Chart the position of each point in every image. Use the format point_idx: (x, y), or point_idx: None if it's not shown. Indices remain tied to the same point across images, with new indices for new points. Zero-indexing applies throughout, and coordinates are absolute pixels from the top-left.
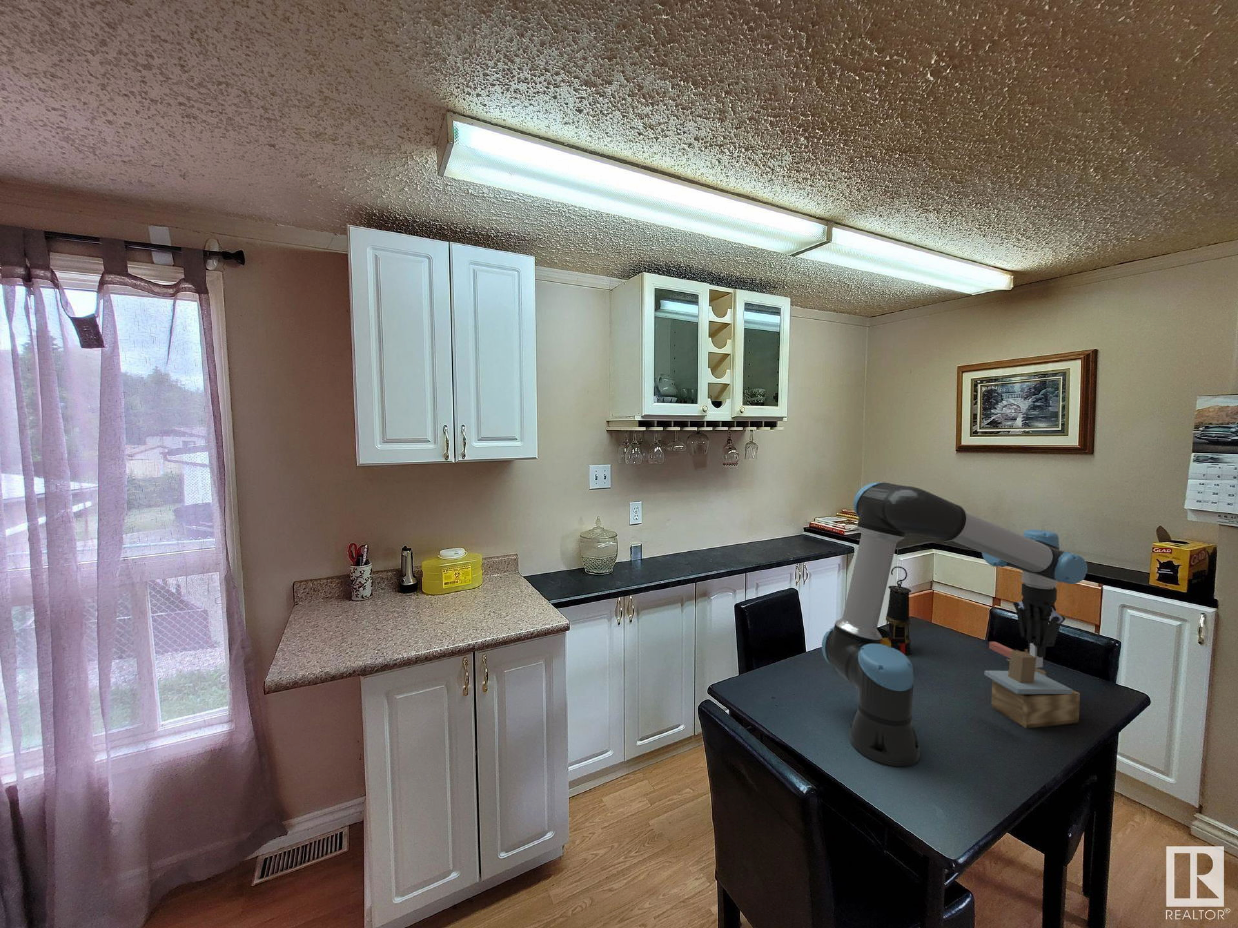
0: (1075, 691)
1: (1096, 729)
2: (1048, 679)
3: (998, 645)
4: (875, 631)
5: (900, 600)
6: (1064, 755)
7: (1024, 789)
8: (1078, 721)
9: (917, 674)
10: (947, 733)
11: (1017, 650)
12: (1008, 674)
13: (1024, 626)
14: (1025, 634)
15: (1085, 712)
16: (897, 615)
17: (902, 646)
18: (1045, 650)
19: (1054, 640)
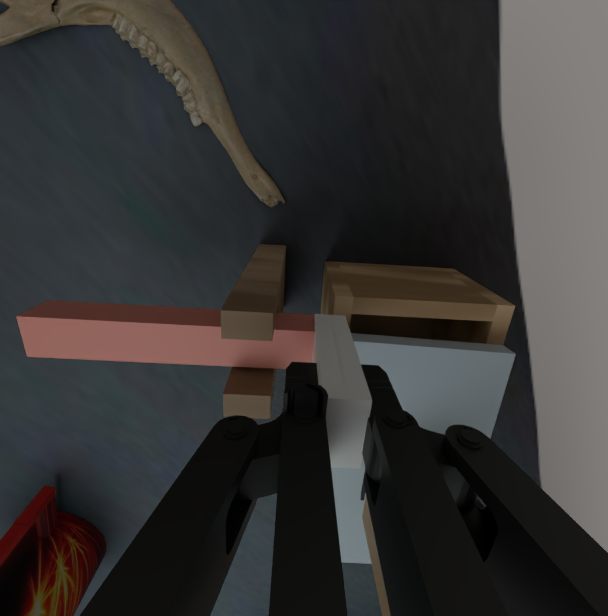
0: (496, 306)
1: (498, 254)
2: (415, 365)
3: (82, 347)
4: None
5: None
6: (520, 448)
7: None
8: (454, 269)
9: (107, 472)
10: (372, 578)
11: (233, 400)
12: (364, 525)
13: (214, 591)
14: (252, 503)
15: (423, 169)
16: None
17: (3, 560)
18: (396, 396)
19: (532, 493)
